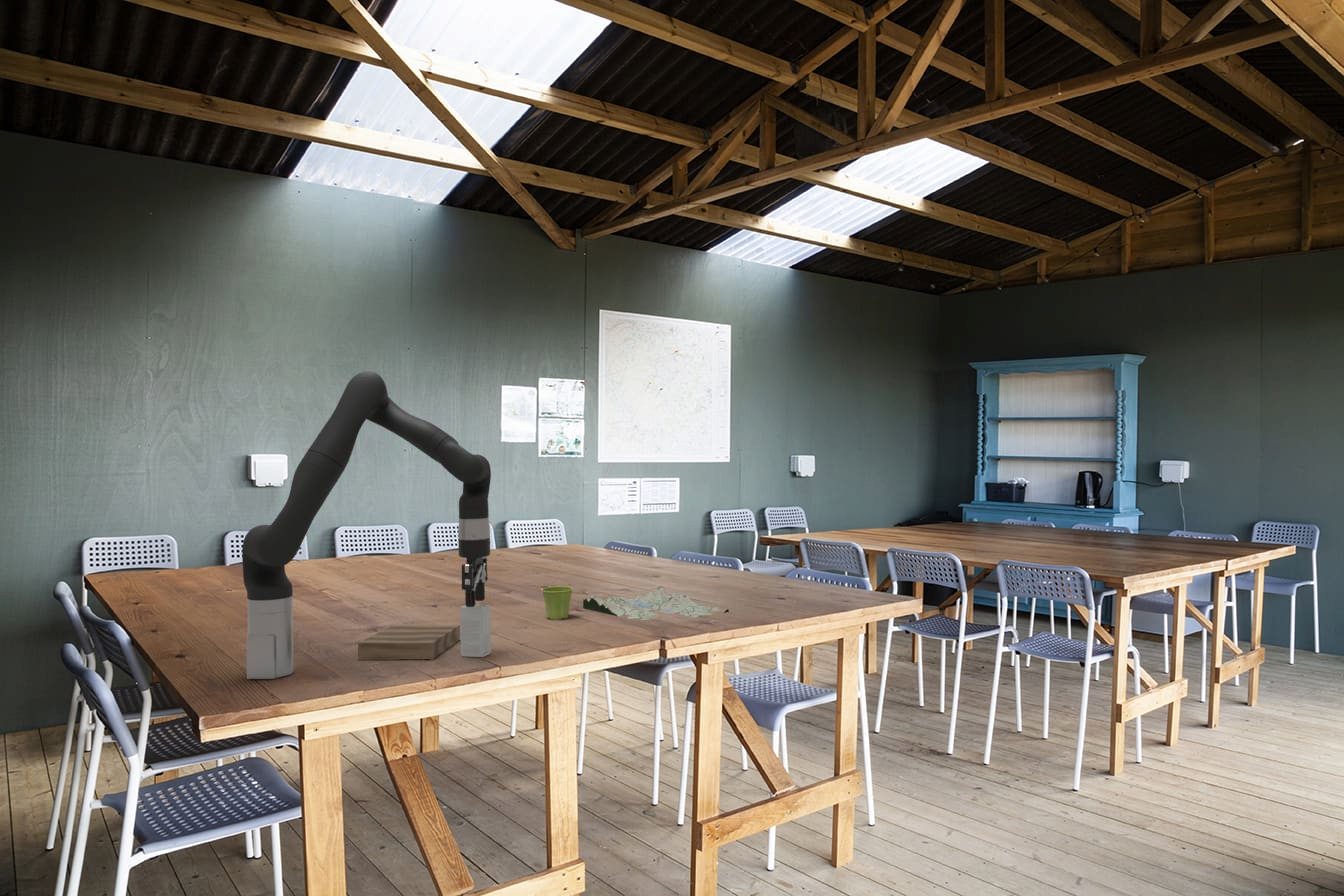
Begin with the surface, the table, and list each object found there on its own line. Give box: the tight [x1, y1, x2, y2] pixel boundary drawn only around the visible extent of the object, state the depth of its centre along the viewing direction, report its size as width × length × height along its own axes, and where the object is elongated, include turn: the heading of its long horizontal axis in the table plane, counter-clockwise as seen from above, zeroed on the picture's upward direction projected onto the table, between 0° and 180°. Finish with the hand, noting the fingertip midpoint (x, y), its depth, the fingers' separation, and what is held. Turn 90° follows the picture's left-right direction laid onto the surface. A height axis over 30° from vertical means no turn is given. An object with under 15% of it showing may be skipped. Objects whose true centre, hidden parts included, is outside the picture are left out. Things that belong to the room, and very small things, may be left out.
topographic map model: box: [582, 585, 729, 621], centre depth 272 cm, size 36×29×5 cm
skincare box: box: [459, 604, 492, 658], centre depth 213 cm, size 6×4×12 cm
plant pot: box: [541, 585, 574, 621], centre depth 260 cm, size 9×9×9 cm
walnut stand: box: [357, 624, 461, 661], centre depth 220 cm, size 22×18×4 cm
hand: (475, 603), depth 213 cm, fingers open, 8 cm apart
